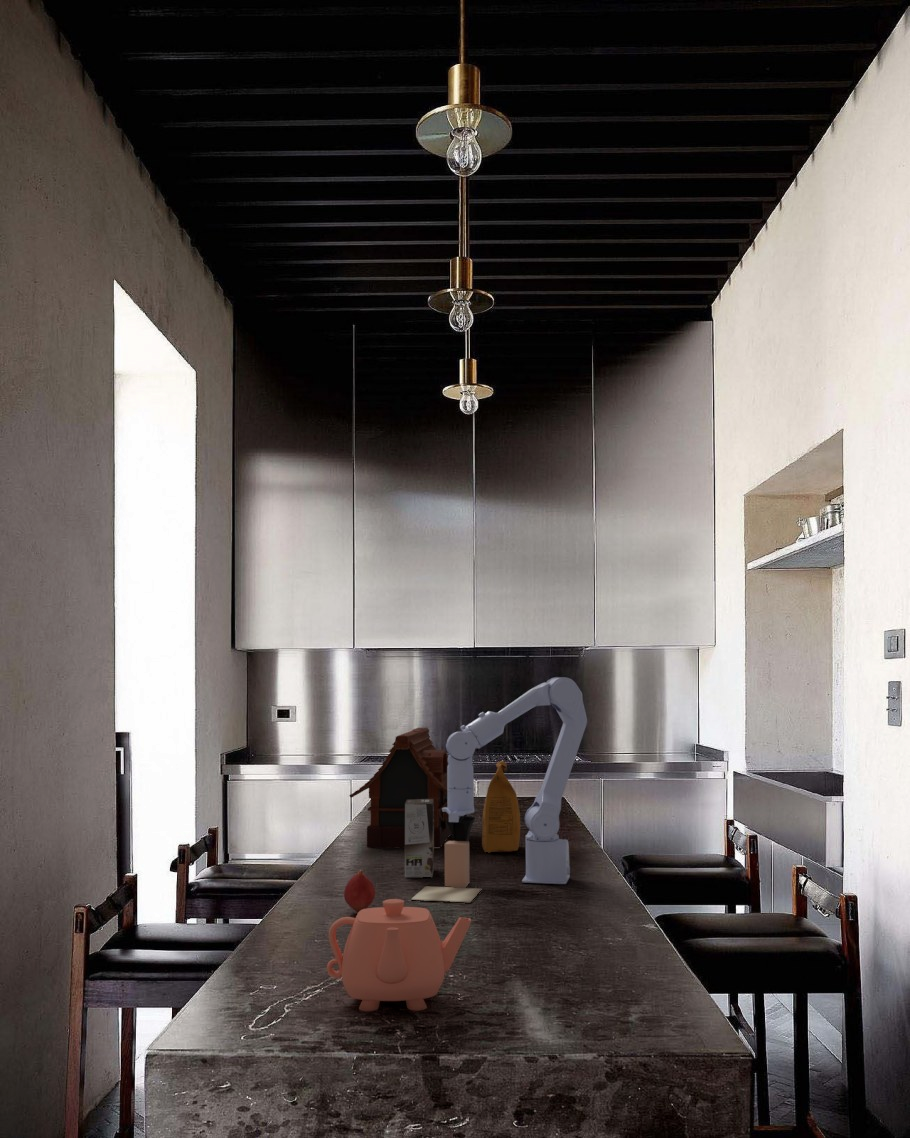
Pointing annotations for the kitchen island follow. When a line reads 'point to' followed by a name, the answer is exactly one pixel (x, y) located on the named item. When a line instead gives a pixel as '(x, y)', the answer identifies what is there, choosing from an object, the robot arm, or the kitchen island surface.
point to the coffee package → (500, 815)
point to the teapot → (394, 955)
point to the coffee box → (419, 838)
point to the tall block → (457, 863)
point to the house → (407, 789)
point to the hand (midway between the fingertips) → (460, 851)
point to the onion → (359, 892)
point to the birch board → (447, 894)
